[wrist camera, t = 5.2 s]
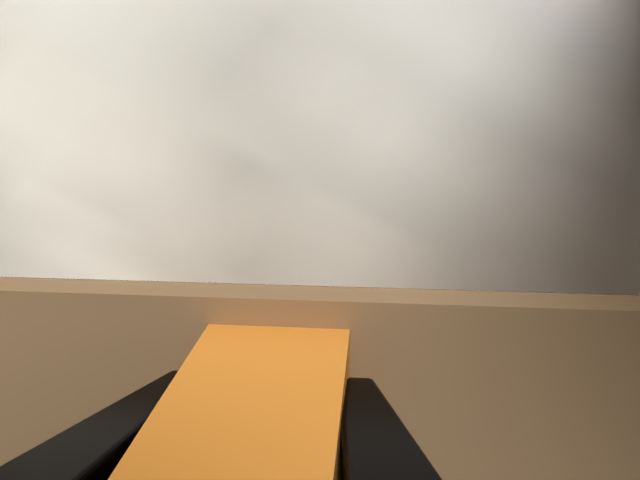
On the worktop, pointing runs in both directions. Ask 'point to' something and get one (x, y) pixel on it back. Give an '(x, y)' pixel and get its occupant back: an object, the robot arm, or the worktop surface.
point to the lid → (326, 375)
